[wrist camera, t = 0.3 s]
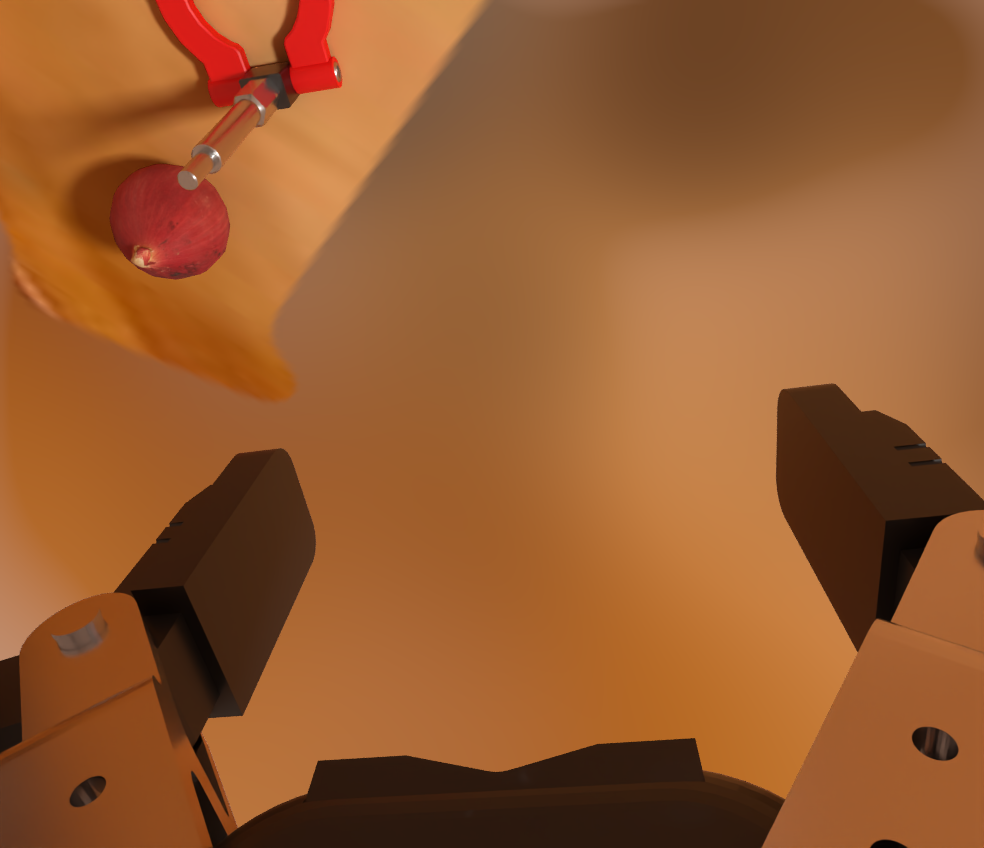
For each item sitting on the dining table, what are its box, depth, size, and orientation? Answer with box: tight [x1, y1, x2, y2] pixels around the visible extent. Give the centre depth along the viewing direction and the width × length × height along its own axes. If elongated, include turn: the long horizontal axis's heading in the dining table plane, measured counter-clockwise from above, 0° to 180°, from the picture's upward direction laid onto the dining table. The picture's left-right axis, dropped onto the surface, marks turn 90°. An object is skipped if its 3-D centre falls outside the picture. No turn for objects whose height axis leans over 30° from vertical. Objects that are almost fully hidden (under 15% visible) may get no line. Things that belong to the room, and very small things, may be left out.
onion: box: [109, 164, 230, 279], centre depth 38 cm, size 6×6×8 cm
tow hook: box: [155, 0, 342, 191], centre depth 29 cm, size 8×13×9 cm
